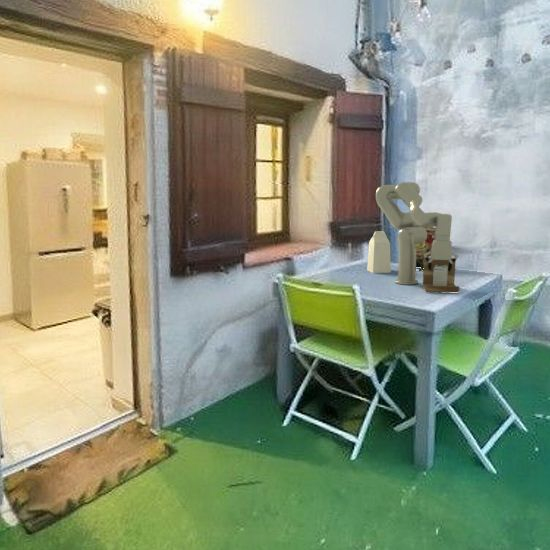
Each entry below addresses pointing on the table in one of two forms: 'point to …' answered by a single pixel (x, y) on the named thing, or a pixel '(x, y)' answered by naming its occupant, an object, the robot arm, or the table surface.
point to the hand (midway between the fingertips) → (439, 270)
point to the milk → (379, 254)
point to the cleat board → (429, 277)
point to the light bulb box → (440, 275)
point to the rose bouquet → (424, 247)
